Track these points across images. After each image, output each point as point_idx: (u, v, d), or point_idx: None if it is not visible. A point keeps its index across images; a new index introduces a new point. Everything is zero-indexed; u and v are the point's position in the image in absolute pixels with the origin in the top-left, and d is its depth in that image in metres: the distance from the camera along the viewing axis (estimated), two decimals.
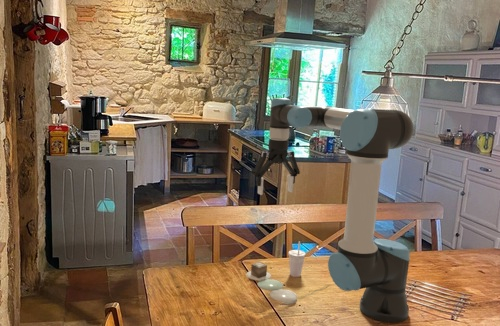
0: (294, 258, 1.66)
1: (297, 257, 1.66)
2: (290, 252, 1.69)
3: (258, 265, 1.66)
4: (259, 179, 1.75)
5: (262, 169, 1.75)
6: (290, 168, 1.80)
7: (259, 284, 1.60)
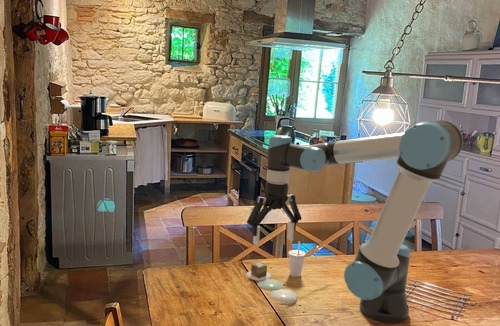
0: (294, 258, 1.66)
1: (297, 257, 1.66)
2: (290, 252, 1.69)
3: (258, 265, 1.66)
4: (255, 228, 1.52)
5: (258, 217, 1.53)
6: (290, 214, 1.57)
7: (259, 284, 1.60)
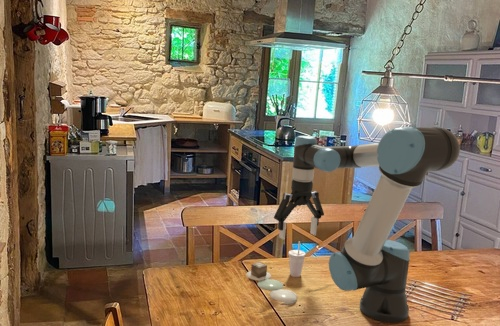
0: (294, 258, 1.66)
1: (297, 257, 1.66)
2: (290, 252, 1.69)
3: (258, 265, 1.66)
4: (281, 223, 1.62)
5: (284, 212, 1.63)
6: (314, 210, 1.67)
7: (259, 284, 1.60)
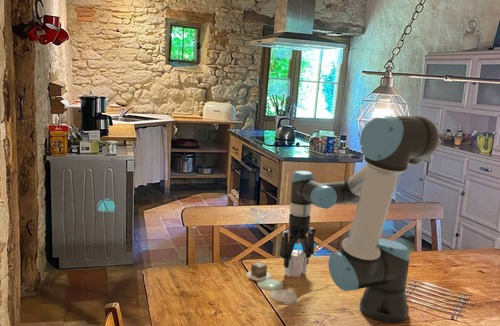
0: (294, 258, 1.66)
1: (297, 257, 1.66)
2: None
3: (258, 265, 1.66)
4: (287, 261, 1.66)
5: (288, 250, 1.66)
6: (306, 247, 1.69)
7: (259, 284, 1.60)
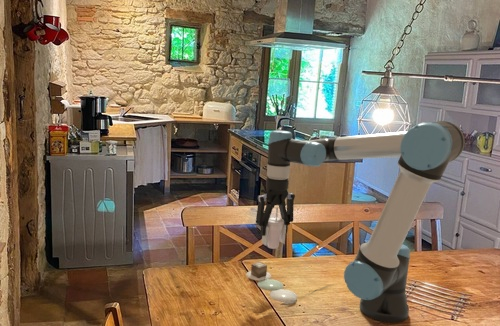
0: (271, 225, 1.54)
1: (274, 224, 1.53)
2: None
3: (258, 265, 1.66)
4: (264, 228, 1.54)
5: (264, 216, 1.54)
6: (285, 214, 1.56)
7: (259, 284, 1.60)
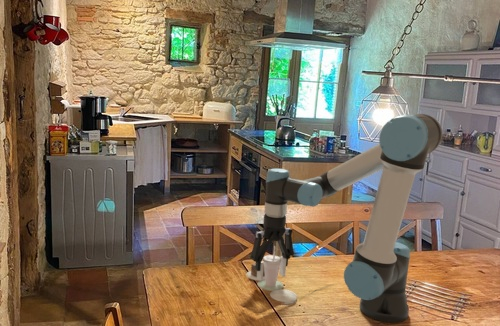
0: (269, 264, 1.56)
1: (272, 263, 1.56)
2: (265, 257, 1.59)
3: None
4: (258, 264, 1.56)
5: (260, 252, 1.56)
6: (284, 249, 1.59)
7: (259, 284, 1.60)
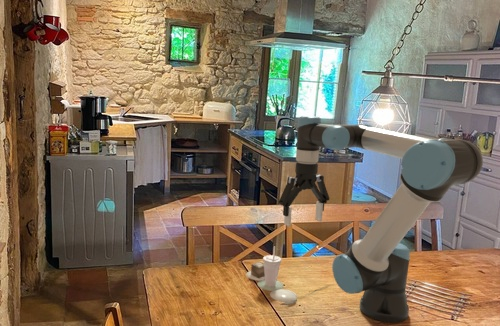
0: (269, 264, 1.56)
1: (272, 263, 1.56)
2: (265, 258, 1.59)
3: (258, 265, 1.66)
4: (287, 208, 1.53)
5: (289, 197, 1.54)
6: (319, 194, 1.59)
7: (259, 284, 1.60)
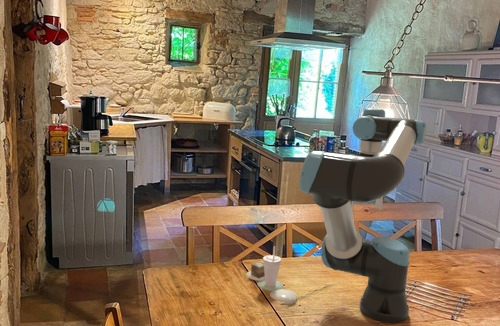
0: (269, 264, 1.56)
1: (272, 263, 1.56)
2: (265, 258, 1.59)
3: (258, 265, 1.66)
4: None
5: None
6: None
7: (259, 284, 1.60)
